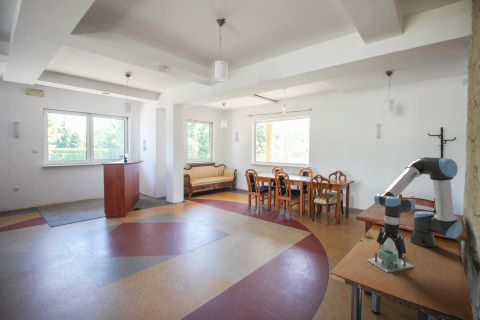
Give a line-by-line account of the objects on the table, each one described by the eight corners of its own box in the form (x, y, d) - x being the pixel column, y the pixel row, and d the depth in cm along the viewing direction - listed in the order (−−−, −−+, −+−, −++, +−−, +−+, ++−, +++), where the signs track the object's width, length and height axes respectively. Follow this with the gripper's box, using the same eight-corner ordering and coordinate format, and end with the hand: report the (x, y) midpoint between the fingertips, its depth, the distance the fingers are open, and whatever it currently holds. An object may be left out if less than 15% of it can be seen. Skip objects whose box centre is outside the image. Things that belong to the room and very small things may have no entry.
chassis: (391, 256, 151) (392, 247, 150) (413, 267, 137) (414, 257, 137) (367, 260, 145) (367, 251, 144) (387, 272, 131) (387, 262, 131)
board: (391, 255, 145) (391, 247, 145) (400, 260, 139) (401, 252, 139) (378, 258, 142) (379, 249, 142) (387, 262, 136) (388, 254, 136)
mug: (391, 255, 153) (392, 237, 152) (377, 250, 159) (377, 233, 158) (396, 249, 161) (397, 232, 160) (382, 245, 167) (383, 229, 166)
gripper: (371, 217, 149) (369, 251, 151) (405, 230, 127) (403, 269, 129) (380, 216, 151) (378, 250, 153) (415, 228, 130) (413, 267, 131)
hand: (389, 259), depth 141 cm, fingers open, 10 cm apart
